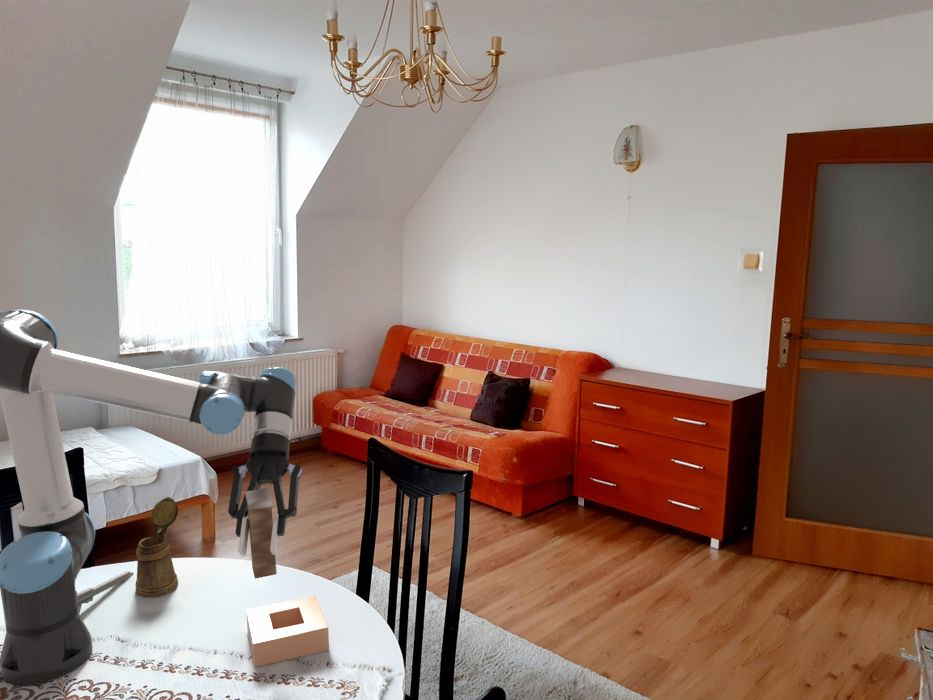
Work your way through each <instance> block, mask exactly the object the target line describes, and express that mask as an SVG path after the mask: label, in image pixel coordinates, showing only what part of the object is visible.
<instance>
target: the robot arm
mask: <svg viewBox="0 0 933 700" xmlns="http://www.w3.org/2000/svg"><path fill="white" fill-rule="evenodd" d="M58 343H59V336H58V333H57V330H56V328H55V326H54V324H53V323H52V322H51V321H50V320H49V318H46V316H44V315H42V314H41V313H39V312H36V311H33V310H28V309H13V310H7V311H2V312H0V403H1V407H2V411H3V412H2V413H3V418H4V419H5V420H4V421H5V425H6V430H7V435H8V440H9V444H10V447H11V453H12V456H13V457H12V458H13V462H14V465H15V466H14V467H15V471H16V476H17V480H18V481H17V482H18V484H19V490H20V493H21V499H22V503H23V507H24V509H23V511H22V512H21V514H20V515H19V516H18V518H17V524H18V527H19V533H20V537H19V539H18V540H14V541H12V542H10V543H9V544H7V545H6V546H5V547H4V548H3V549H2V551H1V552H0V596H1V604H2V608H3V609H2V610H3V617H4V623H5V631H6V632H5V637H4V640H3V644H2V648H1V652H0V676H1V678H2V679H3V680H4V679H5V680H6V682H7V681H8V682H7V683H9V682H11V683H10V684H12V683H13V684H12V685H17V684H20V685H19V686H30V685H29V684H32V685H39V684H43V683H47V682H50V681H55V680H57V679H59V678H62V677H63V676H66V675H68V674H69V673H71V672H73V671H75V670H76V669H77V668H80V667H81V666H82V665H83V664H85V662H87V660H88V659H89V658H90V656H91V654H92V652H93V639H92V634H91V633H90V631H89V629H88V627H87V626H86V624H85V622H84V621H83V619H82V617H81V615H80V614H79V613H78V608H77V599H76V590H77V589H76V579H77V578H78V575H79V573H80V572H81V569H82V567H83V565H84V563H85V561H86V560H87V558H88V556H89V554H90V553H91V552H92V549H93V547H94V543H95V539H96V538H95V537H96V528H95V527H96V525H95V522H94V521H93V519H92V517H91V516H90V515H89V514H88V513H87V512H86V511H85V505H84V502H83V501H82V500H80V499H78V498H76V497H74V495H73V494H74V493H73V489H72V484H71V483H72V482H71V479H70V474H69V468H68V463H67V459H66V454H65V450H64V444H63V438H62V433H61V428H60V424H59V419H58V414H57V409H56V404H55V399H54V395H55V394H57V395H61V396H65V397H70V398H75V399H80V400H85V401H89V402H95V403H99V404H103V405H109V406H112V407H113V406H114V407H118V408H122V409H127V410H132V411H137V412H141V413H145V414H146V413H147V414H152V415H156V416H161V417H165V418H171V419H176V420H179V421H180V420H181V421H185V422H190V423H194V424H198V425H202V427H203V428H204V429H205V430H206V431H208V432H209V433H211V434H214V435H220V436H221V435H222V436H223V435H227V434H230V433H232V432H234V431H235V430H236V429H237V428H238V427H239V426H240V425H241V422H242V420H243V418H244V415H245V413H255V416H254V421H253V422H254V423H253V429H252V438H251V443H250V451H249V458H248V460H247V461H246V464H244V465H241V466H237V465H234V466H232V468H231V471H232V475H233V480H232V485H231V491H230V498H229V502H228V503H229V504H228V509H227V513H228V514H229V516H230V517H231V519H236V527H235V535H236V537H237V538H239V542H238V543H239V544H238V549H237V552H238V553H239V555H240V556H243V557H246V555H247V549H248V541H249V535H250V531H249V519H248V507H247V502H246V493H245V494H244V496H243V499H242V501H241V497H242V496H241V495H242V489H243V485H244V484H243V482H244V481H243V479H244V478H245V477H246V473H247V472H248V473H249V474H250V477H251V478H250V479H249V485H248V486H247V490H246V491H253V490H259V489H261V486H262V485H267V484H270V485H272V486H273V493H274V497H275V498H274V499H275V503H276V510H277V514H278V515H277V516H274V515H273V529H272V538H271V547H270V551H271V553H272V554H273V555H275V556H276V555H278V548H279V540H280V537H283V536H285V534H286V523H287V520H288V519H289V518H291V517H292V518H295V517H296V515H297V513H298V511H297V510H298V498H299V497H298V496H299V484H300V479H301V476H302V474H303V468H302V466H301V465H300V464H298V463H297V464H291V463H290V461H289V460H290V459H289V456H290V455H289V454H290V447H291V441H290V440H291V438H292V437H291V435H292V429H293V426H292V425H293V415H294V408H295V407H294V406H295V400H296V399H295V398H296V376H295V374H294V372H292V371H291V370H289V369H287V368H285V367H282V366H281V367H280V366H274V367H267V368H265V369H263V370H262V371H261V373H260V375H259V376H252V375H246V374H239V373H231V372H224V371H220V370H215V371H214V370H202V371H201V372H200V374H199V377H198V381H194V380H190V379H186V378H182V377H178V376H173V375H168V374H164V373H159V372H156V371H151V370H146V369H144V368H138V367H133V366H129V365H126V364H120V363H116V362H112V361H107V360H103V359H99V358H94V357H90V356H85V355H81V354H77V353H72V352H69V351H65V350H61V349H58ZM287 472H289V475H290V477H289V478H290V481H289V489H288V490H289V492H288V502H287V503H288V504H287V505H288V506H287V508H286V505H285V499H284V494H283V493H284V492H283V488H282V487H283V486H282V478H283V477H284V476H285V475H286V473H287ZM240 502H241V503H240ZM5 680H4V681H5ZM42 682H43V683H42ZM38 683H39V684H38ZM26 684H28V685H26Z"/></svg>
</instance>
